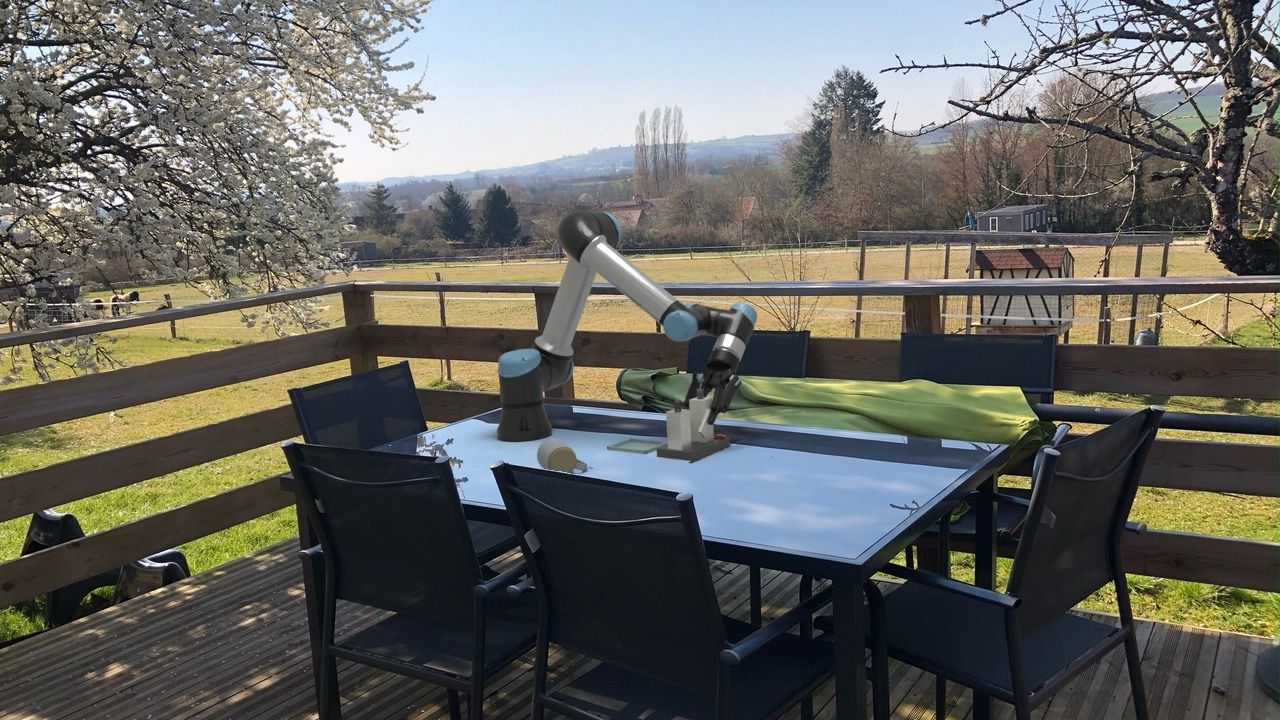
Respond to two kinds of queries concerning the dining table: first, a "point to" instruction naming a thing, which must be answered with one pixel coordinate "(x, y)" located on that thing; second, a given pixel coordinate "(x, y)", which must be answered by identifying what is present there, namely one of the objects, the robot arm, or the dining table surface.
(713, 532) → the dining table surface
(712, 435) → the ivory plug
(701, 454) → the pdu strip
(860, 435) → the dining table surface
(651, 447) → the tray
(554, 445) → the ceramic mug
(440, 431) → the dining table surface
